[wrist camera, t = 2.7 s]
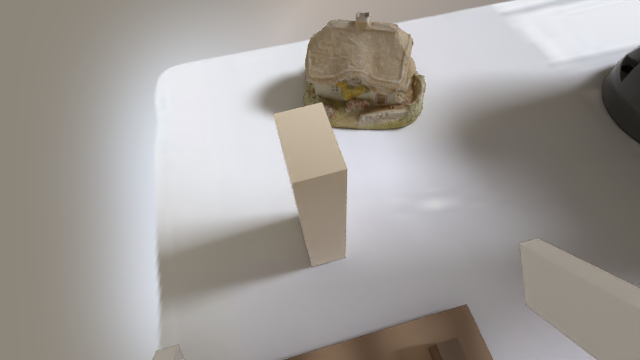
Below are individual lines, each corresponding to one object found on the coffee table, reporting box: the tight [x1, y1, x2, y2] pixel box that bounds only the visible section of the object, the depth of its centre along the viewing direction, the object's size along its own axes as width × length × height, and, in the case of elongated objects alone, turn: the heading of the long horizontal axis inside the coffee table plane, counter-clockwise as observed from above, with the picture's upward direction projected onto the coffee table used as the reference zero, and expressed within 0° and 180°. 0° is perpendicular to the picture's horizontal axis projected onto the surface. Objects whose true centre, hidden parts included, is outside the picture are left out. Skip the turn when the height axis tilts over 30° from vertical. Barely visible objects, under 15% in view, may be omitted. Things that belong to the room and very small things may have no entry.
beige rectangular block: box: [273, 102, 347, 267], centre depth 25 cm, size 3×5×14 cm, turn 15°
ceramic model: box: [303, 12, 426, 129], centre depth 36 cm, size 14×11×10 cm
